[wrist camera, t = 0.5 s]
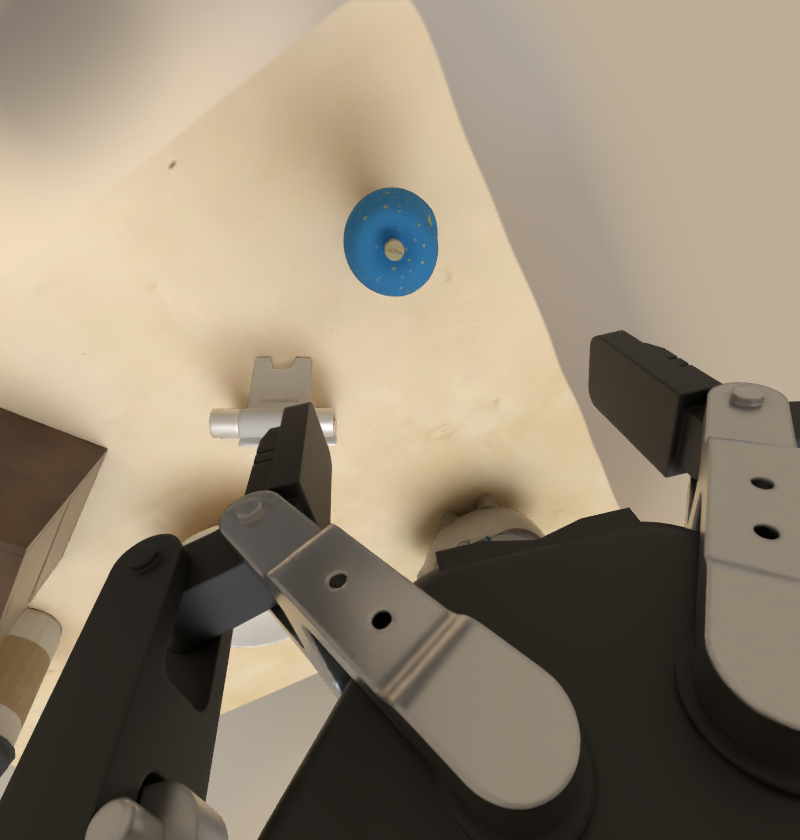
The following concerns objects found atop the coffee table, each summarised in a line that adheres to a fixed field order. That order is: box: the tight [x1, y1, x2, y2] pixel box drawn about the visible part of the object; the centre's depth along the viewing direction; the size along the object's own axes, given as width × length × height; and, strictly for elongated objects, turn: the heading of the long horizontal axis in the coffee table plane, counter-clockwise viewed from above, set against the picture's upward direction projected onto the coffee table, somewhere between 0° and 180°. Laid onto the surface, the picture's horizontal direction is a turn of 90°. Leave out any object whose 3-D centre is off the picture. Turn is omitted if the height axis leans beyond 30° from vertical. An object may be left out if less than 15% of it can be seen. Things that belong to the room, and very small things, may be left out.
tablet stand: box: [209, 357, 337, 447], centre depth 36 cm, size 9×8×8 cm
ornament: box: [344, 188, 438, 296], centre depth 26 cm, size 5×5×15 cm
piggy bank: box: [417, 495, 545, 579], centre depth 45 cm, size 11×15×12 cm
